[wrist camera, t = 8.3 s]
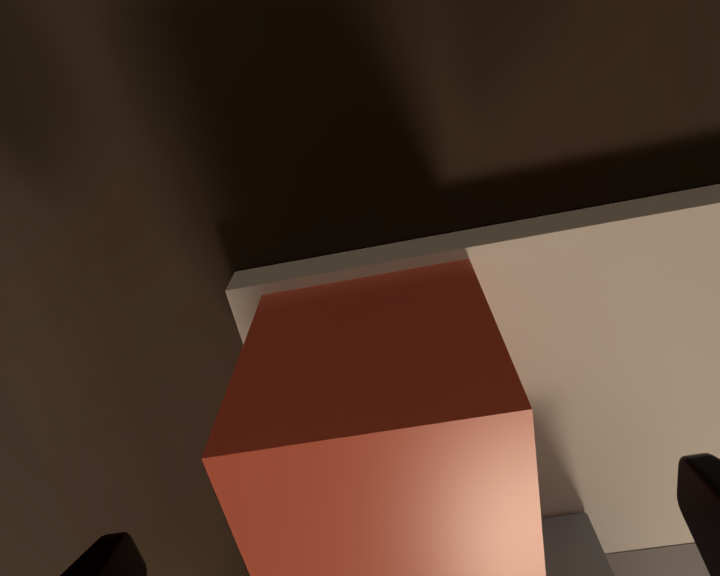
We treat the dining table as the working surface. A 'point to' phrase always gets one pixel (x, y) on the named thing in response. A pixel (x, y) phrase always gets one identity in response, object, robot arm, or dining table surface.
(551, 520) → the breaker toggle
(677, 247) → the panel
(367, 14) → the dining table surface
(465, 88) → the dining table surface
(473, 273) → the cap
